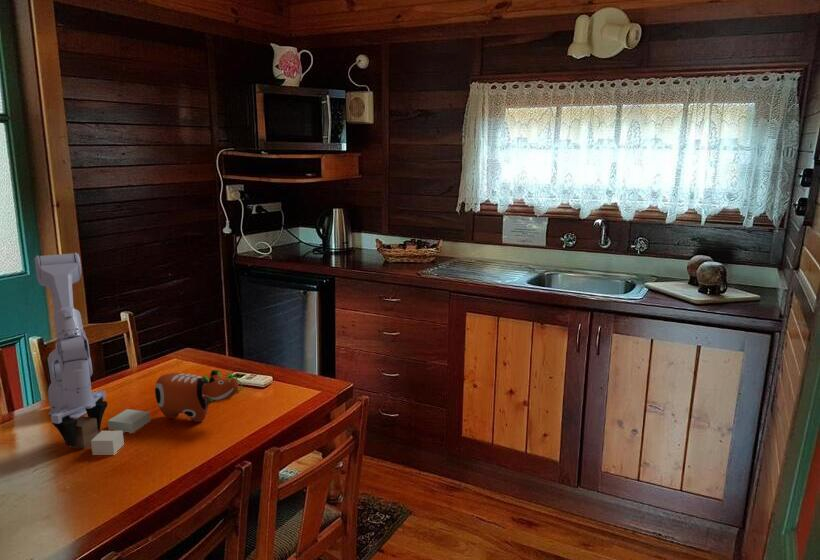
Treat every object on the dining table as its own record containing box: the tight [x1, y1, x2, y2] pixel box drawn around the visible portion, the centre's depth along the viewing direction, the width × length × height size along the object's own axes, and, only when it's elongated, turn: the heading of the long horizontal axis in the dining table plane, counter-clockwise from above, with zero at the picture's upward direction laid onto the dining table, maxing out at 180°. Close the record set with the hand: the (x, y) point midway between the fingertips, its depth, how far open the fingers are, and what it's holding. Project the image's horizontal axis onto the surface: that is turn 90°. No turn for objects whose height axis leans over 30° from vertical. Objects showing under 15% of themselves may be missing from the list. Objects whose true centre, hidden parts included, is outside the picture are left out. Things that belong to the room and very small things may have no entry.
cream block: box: [91, 430, 125, 456], centre depth 138 cm, size 5×5×4 cm
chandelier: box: [201, 369, 243, 403], centre depth 171 cm, size 15×15×7 cm
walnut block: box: [69, 415, 99, 450], centre depth 141 cm, size 4×4×6 cm
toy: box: [154, 369, 240, 423], centre depth 152 cm, size 10×23×15 cm, turn 78°
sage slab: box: [107, 408, 152, 434], centre depth 151 cm, size 7×7×3 cm
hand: (83, 437), depth 141 cm, fingers open, 7 cm apart
